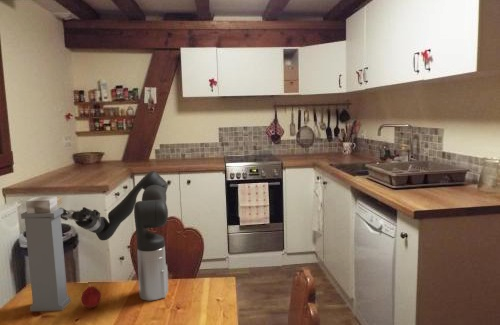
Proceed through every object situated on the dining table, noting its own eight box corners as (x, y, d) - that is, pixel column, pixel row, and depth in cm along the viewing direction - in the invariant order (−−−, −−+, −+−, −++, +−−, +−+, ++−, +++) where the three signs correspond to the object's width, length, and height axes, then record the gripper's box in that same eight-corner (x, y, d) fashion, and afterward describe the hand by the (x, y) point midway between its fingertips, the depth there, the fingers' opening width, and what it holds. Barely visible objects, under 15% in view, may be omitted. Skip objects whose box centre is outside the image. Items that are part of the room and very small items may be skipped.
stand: (70, 300, 123) (63, 208, 118) (62, 310, 117) (53, 213, 113) (40, 301, 122) (31, 209, 118) (30, 311, 116) (20, 214, 112)
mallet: (68, 202, 126) (67, 191, 126) (50, 212, 113) (49, 200, 113) (47, 203, 126) (46, 191, 125) (27, 213, 113) (25, 201, 112)
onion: (104, 303, 121) (103, 280, 120) (95, 313, 115) (94, 289, 114) (88, 303, 121) (86, 280, 120) (78, 312, 116) (76, 288, 114)
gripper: (72, 211, 152) (54, 200, 137) (107, 211, 152) (92, 199, 137) (69, 229, 149) (50, 220, 134) (104, 228, 149) (89, 219, 134)
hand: (71, 210), depth 135 cm, fingers open, 8 cm apart
